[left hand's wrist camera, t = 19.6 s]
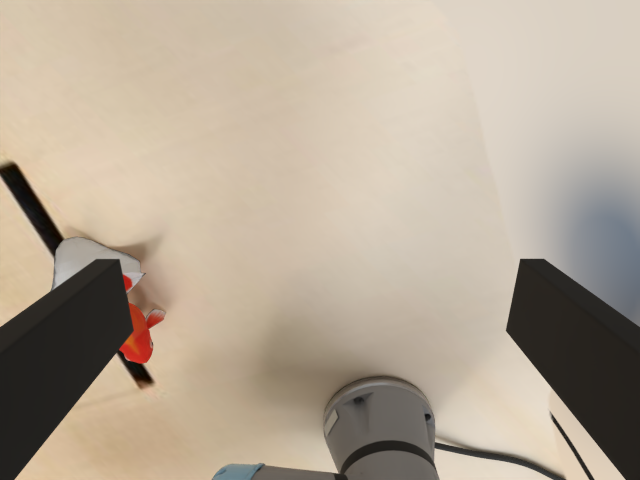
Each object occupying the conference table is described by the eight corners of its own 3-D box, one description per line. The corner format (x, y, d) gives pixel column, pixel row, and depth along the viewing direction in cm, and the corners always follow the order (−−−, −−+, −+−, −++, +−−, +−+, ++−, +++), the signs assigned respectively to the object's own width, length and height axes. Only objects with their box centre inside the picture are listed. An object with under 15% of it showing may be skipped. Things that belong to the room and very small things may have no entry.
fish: (81, 376, 45) (41, 397, 35) (58, 249, 47) (14, 236, 37) (175, 350, 48) (161, 363, 38) (150, 232, 49) (132, 215, 40)
